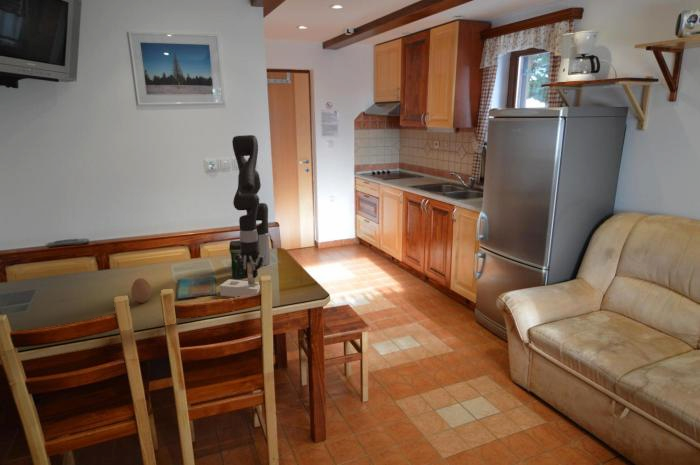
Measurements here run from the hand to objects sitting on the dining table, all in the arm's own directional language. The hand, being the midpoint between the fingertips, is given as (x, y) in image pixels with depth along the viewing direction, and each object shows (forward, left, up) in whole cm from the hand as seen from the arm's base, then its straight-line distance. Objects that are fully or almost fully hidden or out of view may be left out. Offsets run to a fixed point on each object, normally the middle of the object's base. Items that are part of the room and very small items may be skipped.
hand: (251, 277), depth 191 cm
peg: (0, 0, -3) cm, 3 cm away
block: (0, -5, -9) cm, 10 cm away
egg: (+18, -43, -9) cm, 47 cm away
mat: (-11, -13, -9) cm, 19 cm away
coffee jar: (-21, -17, -9) cm, 28 cm away
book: (-1, -29, -10) cm, 30 cm away
